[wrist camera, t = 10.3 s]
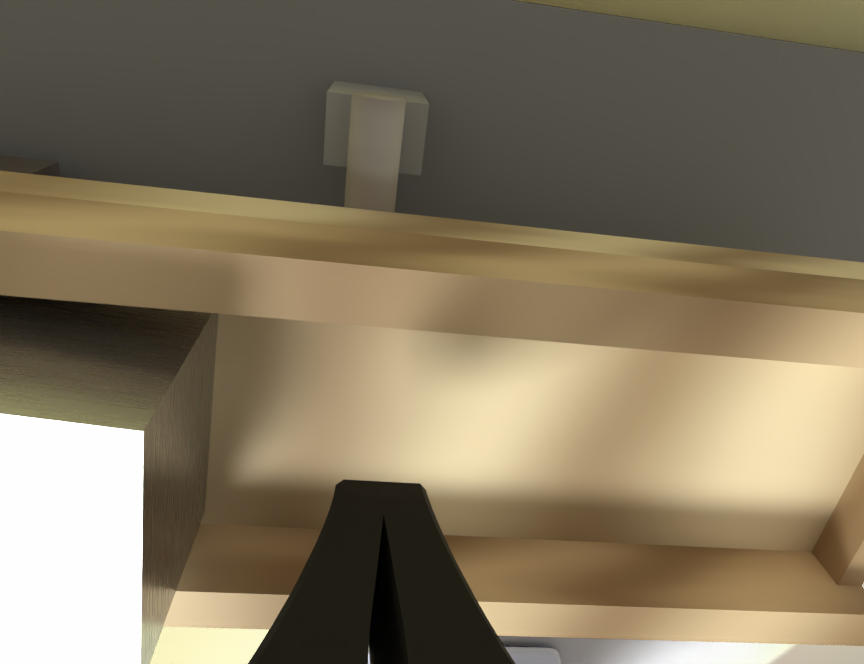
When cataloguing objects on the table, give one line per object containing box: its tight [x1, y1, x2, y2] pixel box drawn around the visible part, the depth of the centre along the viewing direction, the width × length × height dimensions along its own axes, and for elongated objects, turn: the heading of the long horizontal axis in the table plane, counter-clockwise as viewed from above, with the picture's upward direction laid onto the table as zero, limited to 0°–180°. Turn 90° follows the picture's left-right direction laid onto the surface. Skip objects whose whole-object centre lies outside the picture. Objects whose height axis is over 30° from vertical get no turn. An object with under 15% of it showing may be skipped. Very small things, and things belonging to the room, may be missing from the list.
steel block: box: [0, 295, 218, 664], centre depth 10 cm, size 5×5×4 cm
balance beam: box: [0, 92, 864, 646], centre depth 14 cm, size 24×12×6 cm, turn 83°
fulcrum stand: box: [0, 0, 864, 262], centre depth 16 cm, size 28×16×3 cm, turn 83°
